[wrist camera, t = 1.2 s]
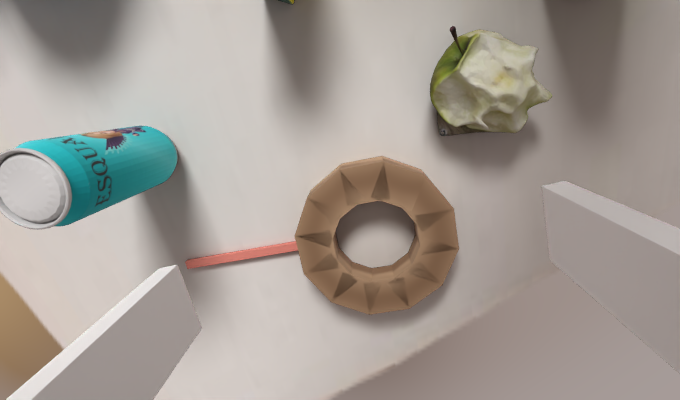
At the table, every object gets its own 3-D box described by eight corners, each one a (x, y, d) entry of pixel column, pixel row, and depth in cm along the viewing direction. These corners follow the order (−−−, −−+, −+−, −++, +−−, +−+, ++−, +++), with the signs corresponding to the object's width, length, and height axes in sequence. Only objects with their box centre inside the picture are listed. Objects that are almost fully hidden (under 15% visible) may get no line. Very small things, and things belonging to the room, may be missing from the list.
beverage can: (180, 124, 37) (63, 144, 22) (186, 182, 38) (80, 235, 24) (123, 124, 37) (-30, 142, 22) (131, 181, 38) (-7, 233, 24)
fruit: (408, 62, 35) (425, 29, 27) (505, 30, 35) (551, -13, 27) (437, 157, 36) (462, 151, 28) (532, 126, 35) (586, 112, 27)
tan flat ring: (287, 174, 37) (280, 180, 34) (439, 145, 36) (446, 149, 33) (319, 306, 41) (316, 322, 38) (457, 285, 40) (465, 300, 37)
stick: (187, 259, 40) (185, 262, 40) (301, 240, 39) (300, 242, 39) (190, 266, 41) (187, 268, 40) (302, 247, 39) (302, 249, 39)
